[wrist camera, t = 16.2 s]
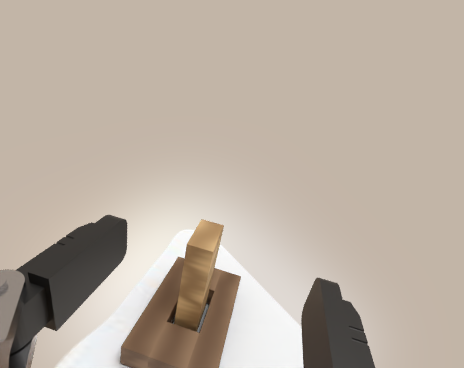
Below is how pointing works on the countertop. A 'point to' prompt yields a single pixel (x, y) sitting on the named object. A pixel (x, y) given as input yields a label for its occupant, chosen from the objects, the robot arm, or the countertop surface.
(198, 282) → the plank
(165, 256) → the countertop surface
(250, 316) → the countertop surface
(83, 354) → the countertop surface
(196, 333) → the base board
